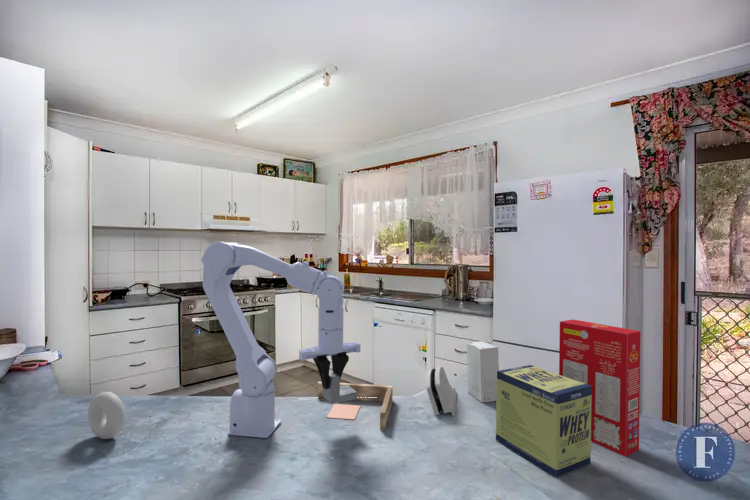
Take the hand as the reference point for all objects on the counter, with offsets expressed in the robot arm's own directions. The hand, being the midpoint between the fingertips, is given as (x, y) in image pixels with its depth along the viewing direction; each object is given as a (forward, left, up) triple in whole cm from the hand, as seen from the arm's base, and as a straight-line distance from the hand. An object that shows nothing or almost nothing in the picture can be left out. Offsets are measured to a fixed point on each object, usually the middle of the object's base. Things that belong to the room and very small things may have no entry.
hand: (330, 386), depth 88 cm
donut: (-47, -12, -10) cm, 50 cm away
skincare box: (+38, +25, -10) cm, 47 cm away
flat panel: (+1, +9, -10) cm, 14 cm away
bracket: (+2, +1, -3) cm, 4 cm away
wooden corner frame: (+2, +9, -10) cm, 14 cm away
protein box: (+46, -3, -10) cm, 47 cm away
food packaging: (+60, +5, -10) cm, 61 cm away
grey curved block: (+26, +19, -10) cm, 34 cm away
